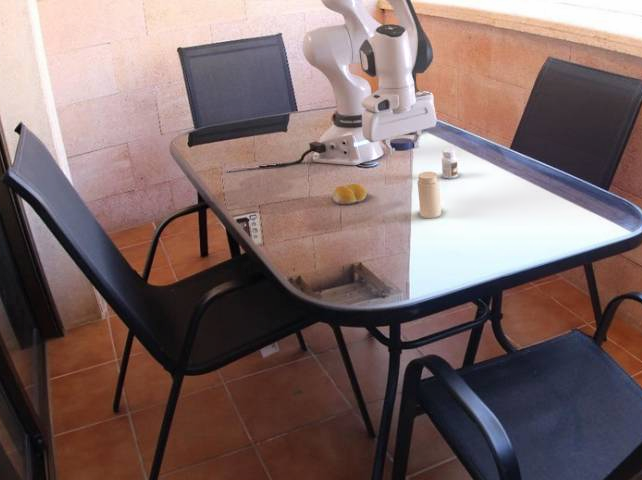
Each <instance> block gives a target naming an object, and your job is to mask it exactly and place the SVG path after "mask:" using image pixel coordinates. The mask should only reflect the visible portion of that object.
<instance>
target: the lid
mask: <svg viewBox="0 0 642 480" xmlns="http://www.w3.org/2000/svg"><path fill="white" fill-rule="evenodd" d="M389 144H390V146H392V147H395V152H405V151H406V152H407V151H410V150H412V149H413V138H407V137H398V138H391V139H390V142H389Z"/></svg>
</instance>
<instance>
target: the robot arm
mask: <svg viewBox="0 0 642 480" xmlns="http://www.w3.org/2000/svg"><path fill="white" fill-rule="evenodd" d="M320 1H321V3H322V4H323V6H324V7H326V8H327V9H328V10H331V11H332V12H334V13H338V14H340V15H341V16H342V17H343V20H344V23H343V24H339V25H338V24H337V25H328V26H321V27H318V28H315V29H312V30H310V31H307V32H306V33H305V35H304V37H303V39H302V45H301V47H302V53H303V56H304V58H305V59H306V61H307V62H308V63H309V64H310V65H311V66H312V67H314V68H316V69H317V70H319V71H320V72H321V73H322V74H323V75H324V76H325V77H326V79H327V80H328V81H329V83H330V86H331V88H332V90H333V91H332V92H333V95H334V99H335V104H336V110H334V113H333V114H332V115H331V117H330V119H331V122H332V123H333V124H332V125H331V126H330V127H328V129H327V130H326V131H325V132H324V133H323V134H322V135H321V136H320V137H319V140H318V141H312V142H309V143H308V144H309V149H307V150H306V151H304V152H303V153H302V154H301V156H300V158H299V159H298V160H295V161H291V162H279V164H278V163H275V164H276V165H268V164H266V165H267V166H259V167H260V168H259V169H267V168H269V169H270V168H278V167H279V168H280V167H288V166H293V165H298V164H300V163H302V162H303V161H304V159H305V158H306V156H307V155H309V154H310V153H312V152H313V155H312V162H314V163H324V164H334V165H335V164H336V165H345V166H346V165H347V166H357V165H360V164H362V163H366V162H371V161H374V160H377V159H379V158H381V157H383V155H384V150H383V147H382V145H381V143H382V144H383V145H384V147H385V148H386V153H387V155H389V156H394V155H395V154H396V151H395V147H392V146H390V140H391V139H394V138H396V137H400V136H403V135H404V136H405V135H408V134H410V133H412V132H413V133H414V135H413V138H412V140H413V148H412V149H413V150H415V149H419V148H420V144H419V143H420V139H421V137H422V133H423V130H426V129H431V128H434V127H435V126H436V125H437V122H438V120H437V119H438V118H437V113H436V109H435V105H434V104H435V103H434V102H435V101H434V100H435V99H434V94H433V93H432V92H431V91H429V90H428V89H427V90H422V91H419V92H416V93H415V87H414V80H413V77H412V74H416V75H417V74H424V73H425V72H426V71H427V70H428V68H429V67H430V66H431V64H432V62H433V59H434V50H433V47H432V46H433V45H432V43H431V41H430V39H429V36H428V35H427V33H426V31H425V30H424V29H423V26H422V25H421V22H420V19H419V18H418V15H417V13H416V10H415V8H414V5H413V3H412V1H411V0H385V1H386V2H387V3H388V4H389V5H390V6H391V7H392V9H393V12H394V14H395V16H396V19H397V21H398V24H392V23H391V24H381V22H379V21H377V20H376V19H375V18H374V17H372V16H371V14H370V13H369V11H368V10H367V9H366V7H365V5H364V3H363V0H320ZM356 64H360V66H361V70H362V71H363V72H364V73H365V74H366V75H368V76H369V77H371V78H378V85H377V86H378V88H377V90H376V91H374V92H373V93H372V87H371V85H370V83H369V81H368V80H367V79H365V77H362V76H359V75H357V74H353V73H351V72H350V69H349V66H351V65H356ZM421 130H422V131H421ZM280 163H281V164H280Z"/></svg>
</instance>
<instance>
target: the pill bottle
mask: <svg viewBox="0 0 642 480" xmlns="http://www.w3.org/2000/svg"><path fill="white" fill-rule="evenodd" d="M442 156H443V157H442V158H441V170H442V177H443V178H444V179H455V178H457V177H458V175H459V174H458V171H459V170H458V159H457V158H458V157H456V150H455V149H454V148H444V149H443V150H442Z"/></svg>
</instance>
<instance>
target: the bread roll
mask: <svg viewBox="0 0 642 480" xmlns="http://www.w3.org/2000/svg"><path fill="white" fill-rule="evenodd" d="M366 197H367V190H366V188H365V187H364V186H362V184H360V183H351V184H347V185H342V186H341V185H340V186H337V187H336V188H335V189H334V190H333V193H332V199H333V201H334V202H335V203H337V204H339V205H351V204H354V203H356V202H358V203H359V202H362V201H364V200H365V199H366Z"/></svg>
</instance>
